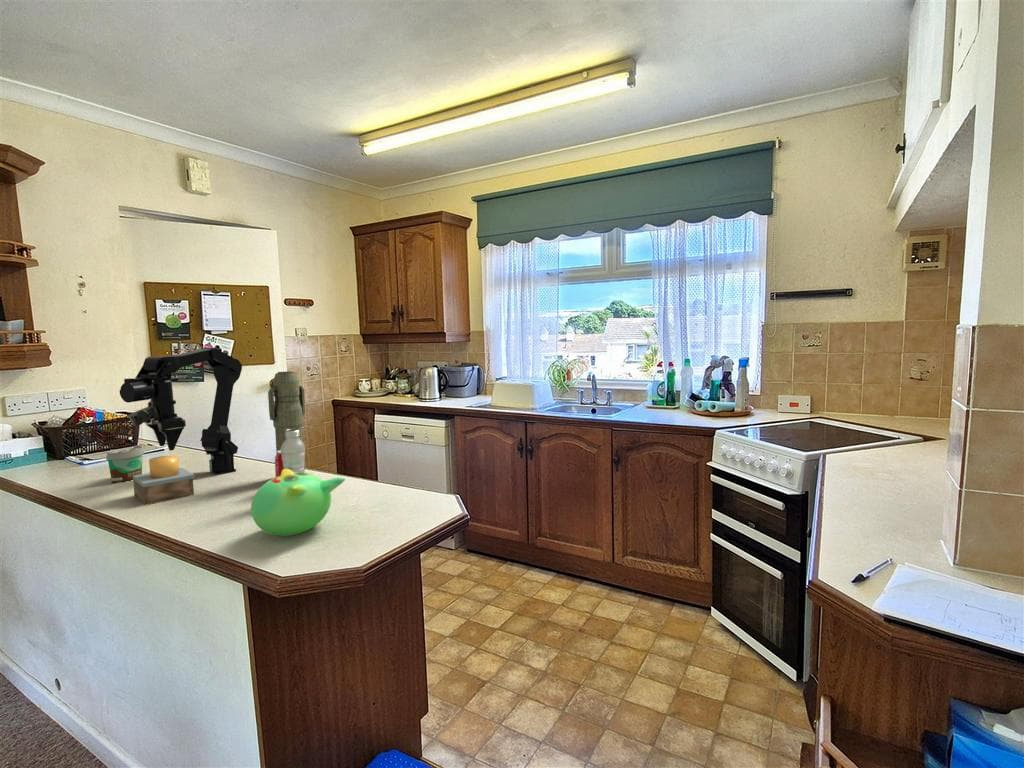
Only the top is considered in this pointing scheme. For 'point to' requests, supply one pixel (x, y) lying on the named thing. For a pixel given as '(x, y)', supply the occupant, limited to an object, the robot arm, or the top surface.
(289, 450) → the plastic bottle
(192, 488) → the walnut box
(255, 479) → the top surface
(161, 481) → the lid
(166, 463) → the short orange cylinder
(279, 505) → the green toy creature
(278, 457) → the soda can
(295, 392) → the headless coat mannequin
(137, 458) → the food container
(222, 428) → the robot arm
